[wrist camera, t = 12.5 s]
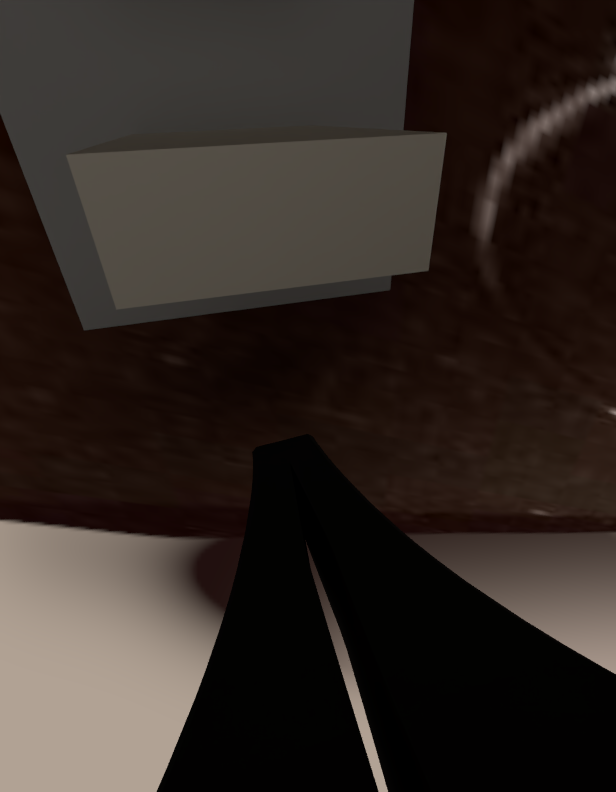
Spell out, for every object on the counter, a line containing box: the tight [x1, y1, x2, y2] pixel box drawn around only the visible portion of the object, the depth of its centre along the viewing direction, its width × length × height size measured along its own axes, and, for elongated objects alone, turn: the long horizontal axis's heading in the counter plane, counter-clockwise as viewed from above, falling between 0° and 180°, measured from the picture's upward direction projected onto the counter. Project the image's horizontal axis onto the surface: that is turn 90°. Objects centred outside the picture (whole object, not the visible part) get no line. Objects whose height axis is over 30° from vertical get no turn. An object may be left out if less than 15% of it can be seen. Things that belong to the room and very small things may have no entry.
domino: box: [66, 125, 447, 310], centre depth 8 cm, size 2×5×7 cm, turn 92°
